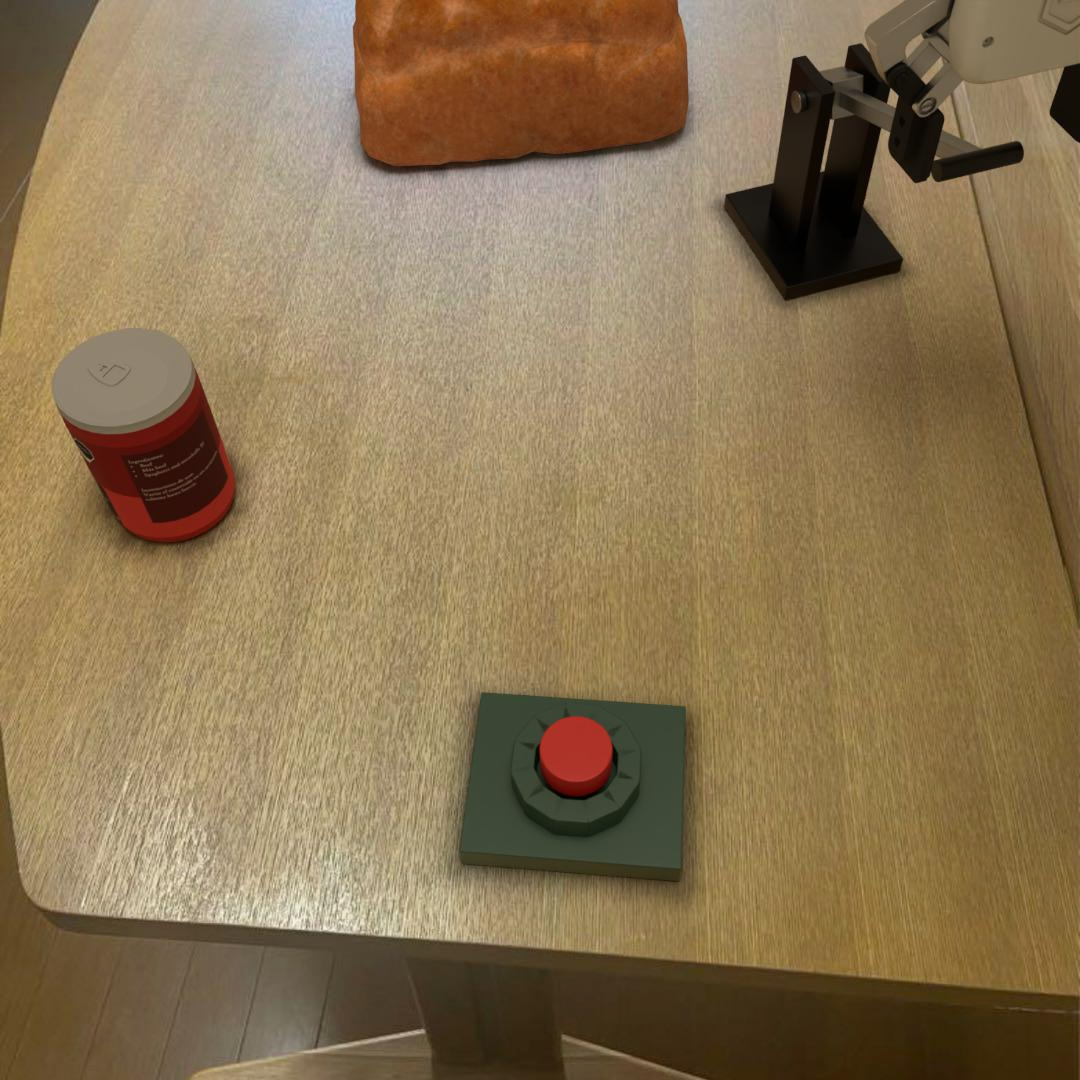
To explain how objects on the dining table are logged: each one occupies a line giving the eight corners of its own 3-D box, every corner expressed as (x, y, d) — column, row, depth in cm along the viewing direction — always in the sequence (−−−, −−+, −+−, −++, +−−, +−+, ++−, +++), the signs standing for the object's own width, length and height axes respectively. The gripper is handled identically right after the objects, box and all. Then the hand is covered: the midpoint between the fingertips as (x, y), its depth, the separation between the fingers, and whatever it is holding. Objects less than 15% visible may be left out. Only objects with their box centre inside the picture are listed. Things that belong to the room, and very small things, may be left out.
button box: (683, 720, 65) (688, 689, 62) (679, 881, 59) (684, 855, 57) (483, 706, 66) (478, 675, 63) (461, 864, 60) (455, 837, 57)
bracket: (900, 271, 85) (947, 100, 74) (785, 300, 84) (815, 130, 73) (831, 181, 92) (866, 10, 80) (723, 206, 90) (743, 37, 79)
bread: (359, 81, 101) (327, -106, 89) (666, 52, 103) (677, -136, 90) (363, 182, 93) (329, -8, 81) (696, 150, 94) (713, -42, 82)
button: (614, 734, 61) (614, 718, 59) (609, 799, 59) (610, 784, 57) (543, 729, 61) (542, 713, 60) (537, 794, 59) (536, 779, 58)
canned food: (141, 443, 78) (84, 318, 69) (256, 460, 77) (213, 335, 68) (92, 536, 73) (24, 415, 64) (213, 555, 72) (161, 435, 63)
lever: (1021, 176, 66) (1026, 132, 65) (941, 196, 65) (944, 152, 64) (860, 98, 80) (862, 61, 79) (792, 113, 79) (792, 77, 78)
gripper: (958, -131, 46) (875, 226, 60) (1333, -204, 49) (1172, 153, 63) (869, -205, 51) (810, 143, 64) (1217, -269, 54) (1090, 78, 67)
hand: (989, 148), depth 64 cm, fingers open, 9 cm apart
